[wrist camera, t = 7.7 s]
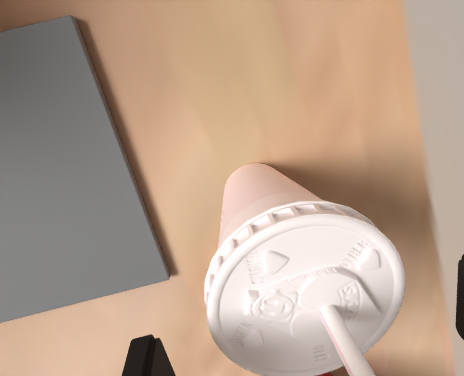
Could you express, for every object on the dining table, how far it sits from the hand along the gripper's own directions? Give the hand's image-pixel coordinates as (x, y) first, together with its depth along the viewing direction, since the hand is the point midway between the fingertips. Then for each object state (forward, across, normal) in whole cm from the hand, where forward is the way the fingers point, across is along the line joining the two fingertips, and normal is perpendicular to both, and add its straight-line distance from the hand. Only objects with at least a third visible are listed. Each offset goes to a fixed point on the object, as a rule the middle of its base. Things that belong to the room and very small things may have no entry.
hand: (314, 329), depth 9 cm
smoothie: (+10, 0, -1) cm, 10 cm away
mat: (+10, +14, -4) cm, 18 cm away
